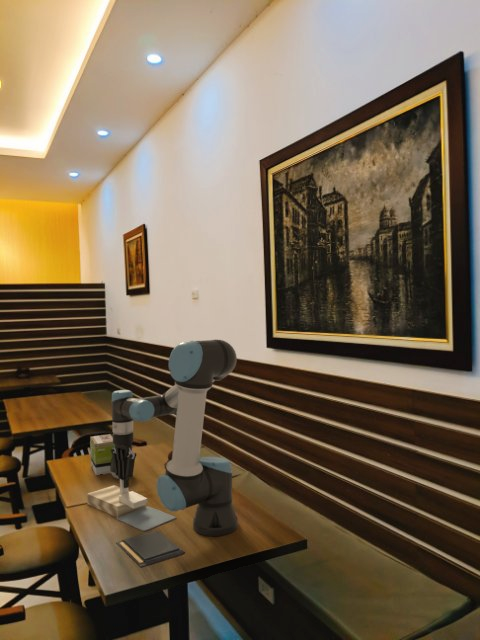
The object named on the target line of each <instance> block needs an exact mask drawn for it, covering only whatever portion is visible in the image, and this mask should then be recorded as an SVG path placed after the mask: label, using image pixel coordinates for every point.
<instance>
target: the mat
mask: <svg viewBox="0 0 480 640" xmlns="http://www.w3.org/2000/svg"><path fill="white" fill-rule="evenodd" d="M115 518H116V520H118V521H120V522H122V523H124V524H127V525H128V526H131V527H133V528H135V529H137V530H140V531H142V532H143V533H144V532H147V531H150V530H152V529H155V528H157V527H159V526H162V525H163V524H164V525H165V524H167V523H169V522H171V521H174V520H176V519H177V517H176V516H174V515H172V514H169V513H167V512H164V511H162V510H159V509H156V508H154V507H151V506H145V507H144V508H142V509H139V510H136V511H134V512H131V513H128V514H126V515H123V516H120V517H118V518H117V517H115Z"/></svg>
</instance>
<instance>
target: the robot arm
mask: <svg viewBox="0 0 480 640" xmlns="http://www.w3.org/2000/svg"><path fill="white" fill-rule="evenodd" d="M237 359H238V358H237V353H236V350H235V348H234V347H233V346H232V344H231V343H229V342H227V341H225V340H222V339H209V340H189V341H184V342H181V343H179V344H177V345H176V346H175V347H174V348H173V349H172V350H171V353H170V356H169V358H168V370H169V374H170V376H171V378H172V379H173V380H174V385H173V386H171V388H169V389H168V390H167V391H165V392H164V393H163V394H160V395H159V394H158V395H153V396H147V397H141V398H140V397H139V398H135V397H134V395H133V391H131V390H129V389H120V390H114V391H113V392H112V393H111V401H110V402H111V418H112V419H111V421H112V425H111V426H112V433H113V434H112V437H113V444H115V448H114V449H111V453H112V455H113V462H114V468H115V474H116V476H117V475H118V477H119V479H118V480H119V487H120V495H122V494H125V493H128V492H129V491H130V490H129V487H130V482H129V481H130V479H131V478H133V477H134V469H135V462H136V461H135V460H136V457H137V453H136V452H134V451H133V447H132V444H133V443H134V439H135V438H134V432H133V431H134V421H135V422H139V423H140V422H143V423H145V422H148V421H150V420H151V419H153V418H157V417H162V416H167V415H174V414H176V415H175V423H174V424H175V425H174V426H175V427H174V437H173V445H172V450H173V453H172V460H171V461H169V462H168V463H167V465H166V469H165V474H161V475H160V476H159V477H158V478H157V480H156V492H157V495H158V498H159V500H160V502H161V503H162V505H163V506H164V507H165V508H166V509H167V510H168V511H170V512H177V511H178V512H179V511H183V510H186V509H187V508H190V507H194V506H196V505H197V507H196V511H195V515H194V516H193V520H192V529H193V531H194V532H196V533H197V534H199V535H201V536H209V537H220V536H226V535H229V534H232V533H233V532H235V531H237V529H238V527H239V525H238V524H239V523H238V522H239V521H238V520H239V519H238V516H237V515H236V511H235V507H234V505H233V471H232V463H231V461H230V460H229V459H226V458H225V457H218V456H202V457H201V456H200V455H201V446H202V438H203V437H202V435H203V428H204V419H205V410H206V401H207V393H208V391H209V390H211V388H212V387H213V385H214V384H213V383H214V382H215V381H222V380H223V379H224V378H226V377H227V376H228V375H230V374H231V373H232V372H233V370H234V369H235V367H236V366H237V365H236V364H237V361H238V360H237Z"/></svg>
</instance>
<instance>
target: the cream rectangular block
mask: <svg viewBox="0 0 480 640" xmlns="http://www.w3.org/2000/svg"><path fill="white" fill-rule="evenodd" d="M119 501H120V502H122V503H124V504H126V505H127V506H129V507H131V508H133V509H135V508H137V507H140V506H143V505H145V506H146V505H148V497H145V496H144V495H141V494H140V493H137V492H135V491H133V490H132V491H130V492H128V493H125V494H122V495H119Z"/></svg>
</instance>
